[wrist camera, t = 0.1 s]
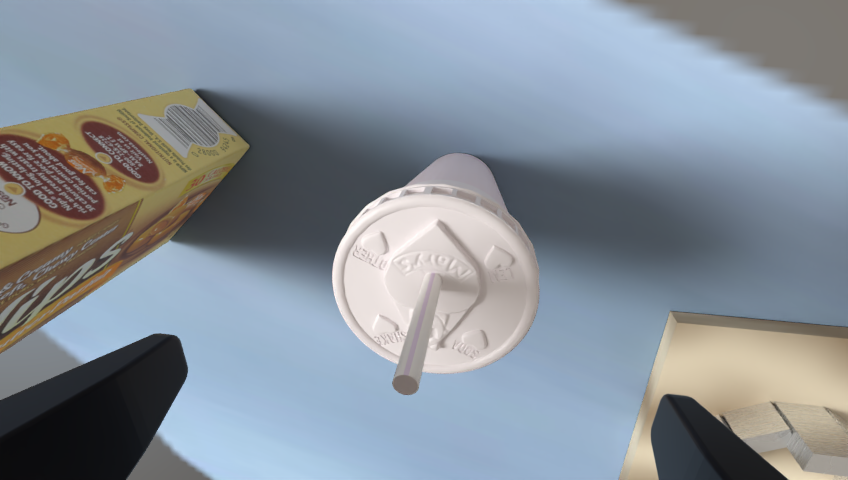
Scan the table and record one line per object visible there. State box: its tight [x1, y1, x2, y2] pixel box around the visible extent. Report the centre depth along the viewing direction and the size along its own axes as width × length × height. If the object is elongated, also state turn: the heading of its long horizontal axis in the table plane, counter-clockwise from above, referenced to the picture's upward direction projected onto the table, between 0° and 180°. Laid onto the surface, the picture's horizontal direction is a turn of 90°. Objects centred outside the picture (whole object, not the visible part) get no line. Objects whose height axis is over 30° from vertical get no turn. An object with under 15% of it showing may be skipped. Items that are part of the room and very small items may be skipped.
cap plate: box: [619, 311, 848, 480], centre depth 25 cm, size 14×12×1 cm
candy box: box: [0, 89, 250, 354], centre depth 17 cm, size 9×4×15 cm, turn 134°
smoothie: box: [332, 153, 539, 395], centre depth 16 cm, size 6×6×14 cm
